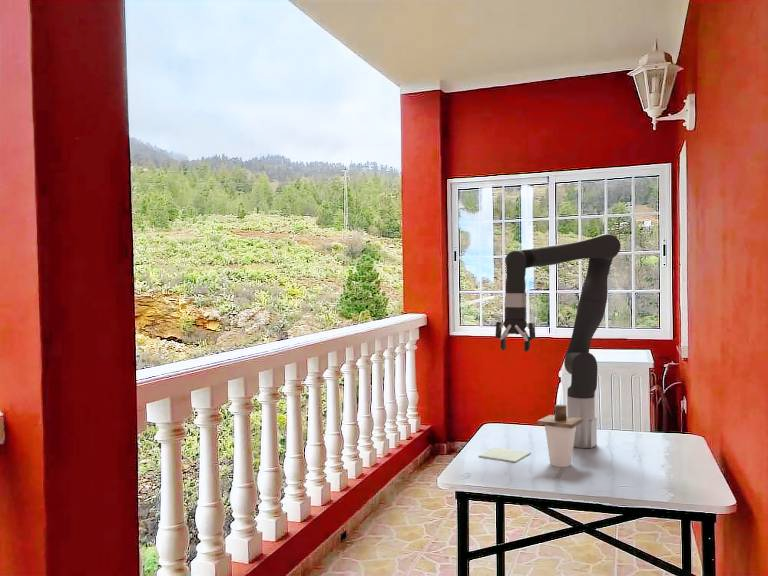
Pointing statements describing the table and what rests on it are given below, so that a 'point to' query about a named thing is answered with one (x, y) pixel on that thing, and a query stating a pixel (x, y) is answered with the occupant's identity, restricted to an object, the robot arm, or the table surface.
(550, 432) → the foam cup
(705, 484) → the table surface
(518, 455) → the mat
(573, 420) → the lid
